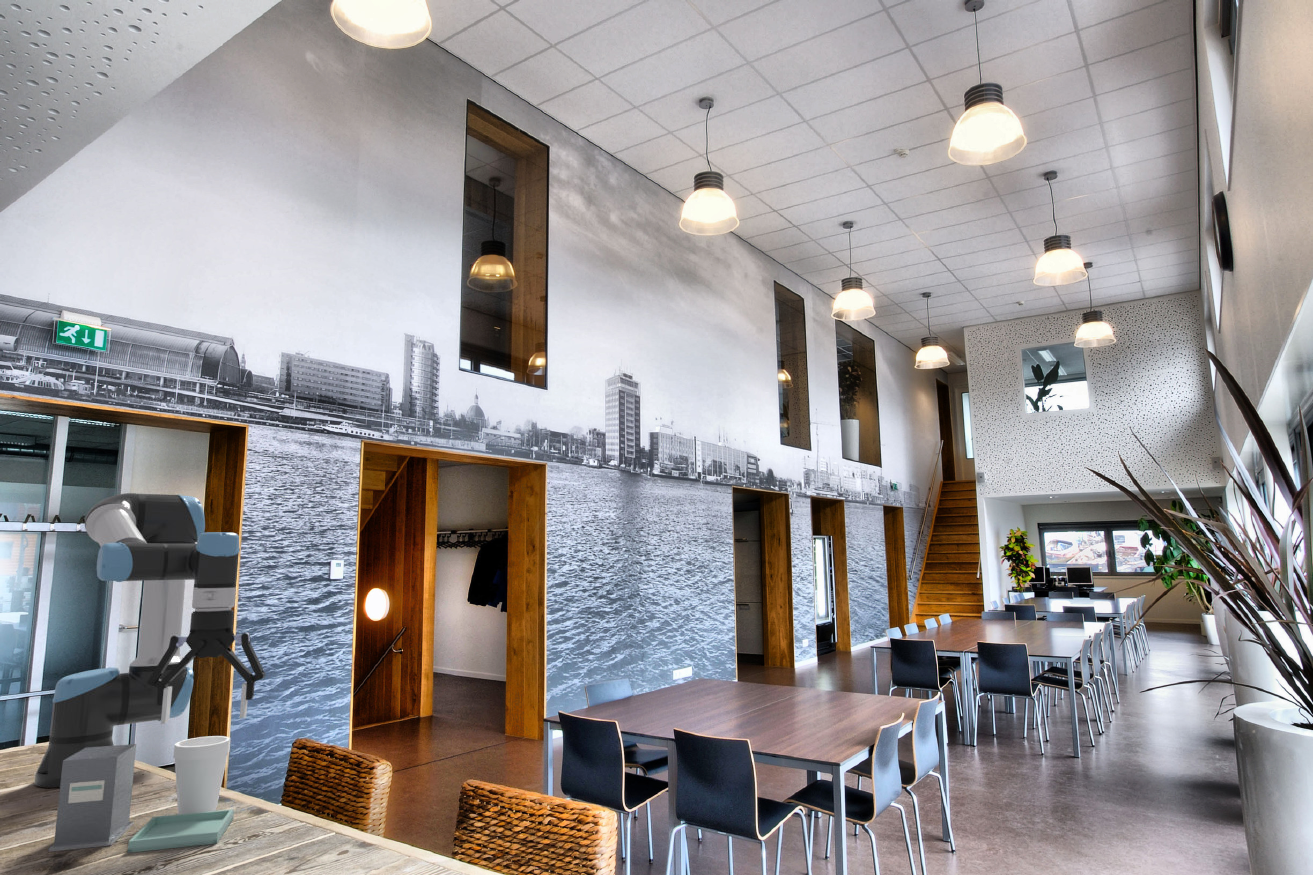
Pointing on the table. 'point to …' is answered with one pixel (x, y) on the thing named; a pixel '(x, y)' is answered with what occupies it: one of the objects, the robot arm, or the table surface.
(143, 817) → the table surface
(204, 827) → the tray
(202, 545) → the robot arm
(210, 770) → the foam cup
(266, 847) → the table surface
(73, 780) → the unit
